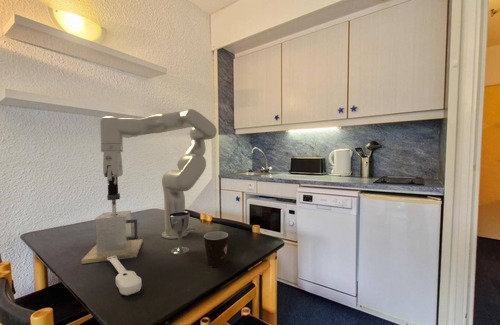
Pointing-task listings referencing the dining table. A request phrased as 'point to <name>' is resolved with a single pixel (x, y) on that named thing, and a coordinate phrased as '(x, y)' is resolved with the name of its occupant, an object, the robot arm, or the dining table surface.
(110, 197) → the plunger
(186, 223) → the wine glass
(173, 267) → the dining table surface
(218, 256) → the coffee mug
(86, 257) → the press
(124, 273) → the white toy guitar
